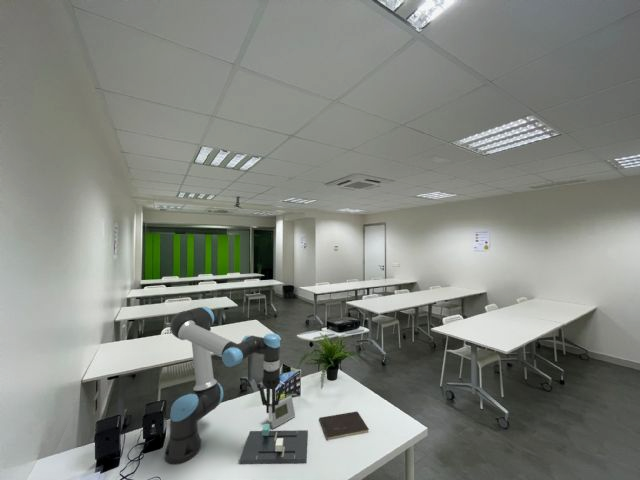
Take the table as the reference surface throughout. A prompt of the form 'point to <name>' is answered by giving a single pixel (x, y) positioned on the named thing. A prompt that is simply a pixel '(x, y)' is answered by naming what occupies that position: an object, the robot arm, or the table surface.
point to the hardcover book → (343, 425)
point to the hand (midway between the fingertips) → (270, 419)
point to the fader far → (265, 429)
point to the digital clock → (283, 412)
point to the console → (264, 448)
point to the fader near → (279, 444)
